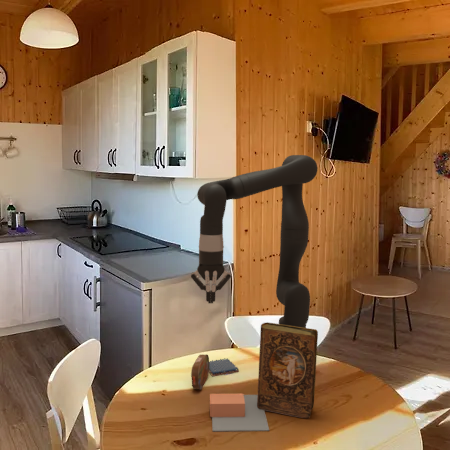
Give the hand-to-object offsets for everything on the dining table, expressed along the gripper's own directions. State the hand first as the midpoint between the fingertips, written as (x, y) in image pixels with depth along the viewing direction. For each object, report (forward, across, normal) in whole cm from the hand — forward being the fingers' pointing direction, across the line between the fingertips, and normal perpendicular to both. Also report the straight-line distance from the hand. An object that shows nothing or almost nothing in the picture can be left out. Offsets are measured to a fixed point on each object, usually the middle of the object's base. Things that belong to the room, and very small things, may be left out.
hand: (210, 302), depth 152 cm
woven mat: (+30, -4, -16) cm, 34 cm away
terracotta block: (+27, 0, +14) cm, 30 cm away
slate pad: (+29, -8, +14) cm, 33 cm away
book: (+29, -22, +13) cm, 39 cm away
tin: (+29, +3, -5) cm, 30 cm away
